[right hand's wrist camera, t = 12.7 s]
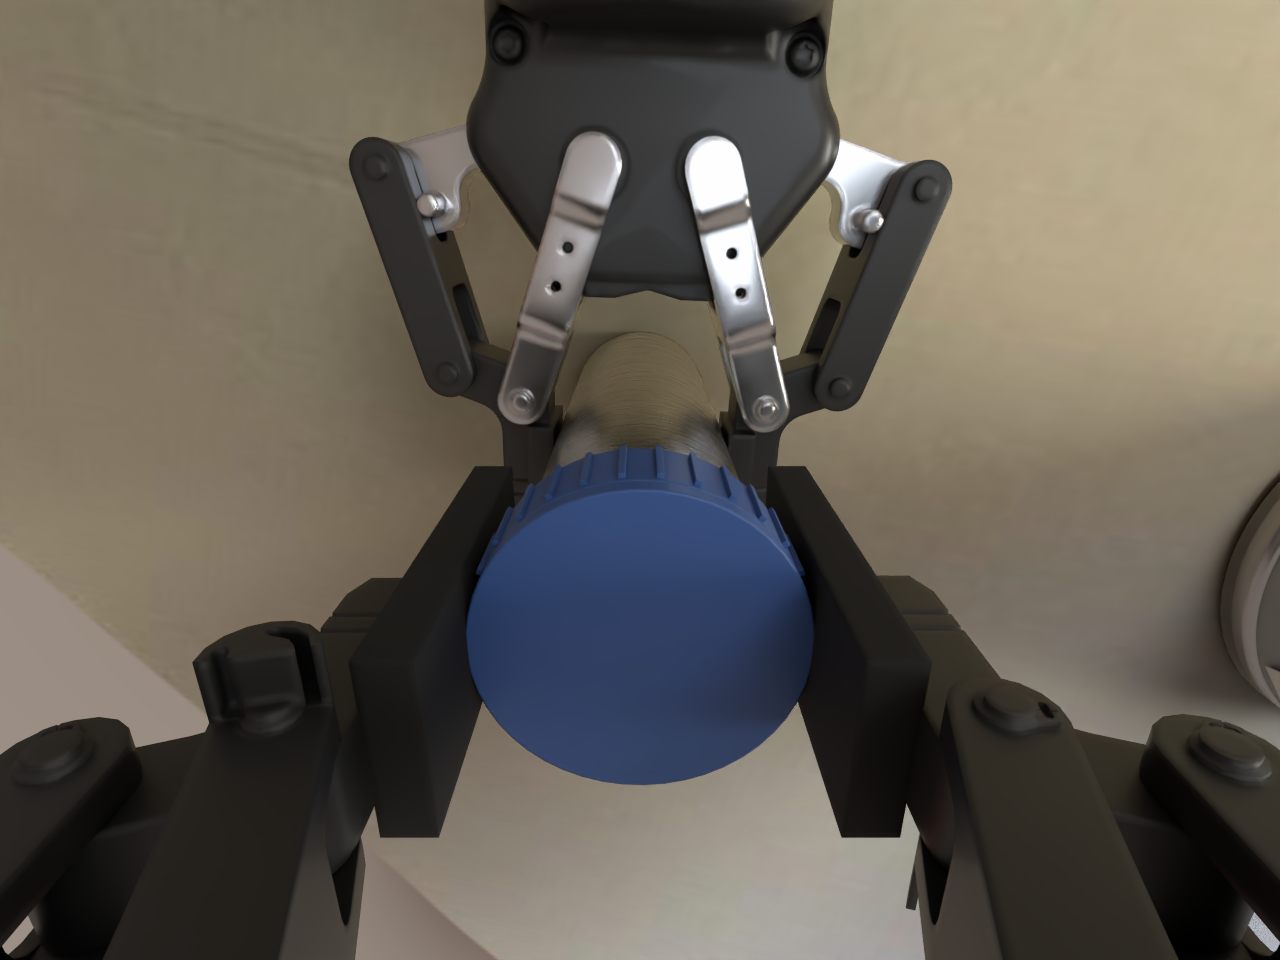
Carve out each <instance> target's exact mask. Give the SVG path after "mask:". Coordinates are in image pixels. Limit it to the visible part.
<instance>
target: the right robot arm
mask: <svg viewBox="0 0 1280 960" xmlns="http://www.w3.org/2000/svg"><path fill="white" fill-rule="evenodd" d="M509 506H510V507H512V508H514V507H515V499H514V485H513V471H512V466H475V467H474V469H473V470H472V472H471V473H470V475H469V477H468V478H467V480H466V481H465V483H464V484H463V486H462V487H461V489H460V490H459V492H458V493H457V495H456V497H455V498H454V500H453V501H452V503H451V504H450V506H449V507H448V509H447V510H446V512H445V513H444V515H443V517H442V518H441V520H440V521H439V523H438V524H437V526H436V527H435V529H434V530H433V532H432V533H431V535H430V537H429V538H428V540H427V541H426V543H425V544H424V546H423V547H422V549H421V550H420V552H419V553H418V555H417V557H416V558H415V560H414V561H413V563H412V564H411V566H410V567H409V569H408V570H407V572H406V573H405V575H404V577H403V578H371V579H370V580H368V581H367V582H365V583H363V584H362V585H360V586H359V587H357V588H356V589H354V590H353V591H351V592H350V593H348V594H347V595H346V596H345V597H344V599H343V600H342V601H341V603H340V604H339V605H338V607H337V608H336V609H335V611H334V612H333V616H332V617H329V618H328V620H327V621H326V622H325V624H324V625H323V626H322V627H321V632H319V631H318V630H317V629H315V628H314V627H313V626H312V625H310V624H305V623H301V622H296V621H275V622H267V623H263V624H258V625H254V626H249V627H246V628H243V629H241V630H238V631H236V632H233V633H231V634H228V635H226V636H224V637H222V638H220V639H219V640H217V641H216V642H214V643H213V644H211V645H209V646H208V647H206V648H205V649H204V650H203V651H202V652H201V653H200V654H199V655H198V657H197V658H196V659H195V660H194V661H193V662H192V663H193V667H194V670H195V674H196V677H197V681H198V684H199V688H200V691H201V695H202V699H203V702H204V706H205V709H206V713H207V716H208V720H209V725H208V727H207V729H206V731H205V732H204V733H201V734H197V735H193V736H189V737H184V738H180V739H175V740H170V741H166V742H161V743H156V744H151V745H147V746H142V747H137V748H135V745H134V742H133V739H132V736H131V733H130V730H129V728H128V727H127V726H126V725H124V724H123V723H122V722H121V721H119V720H117V719H109V718H102V717H96V718H89V719H81V720H74V721H70V722H66V723H62V724H60V725H58V726H57V725H55V726H52V727H49V728H47V729H44V730H42V731H40V732H39V733H37V734H35V735H33V736H31V737H29V738H26V739H24V740H22V741H20V742H18V743H16V744H15V745H13V746H12V747H11V748H9V749H8V750H6V751H5V752H4V753H2V754H1V755H0V960H355V953H356V945H357V936H358V927H359V918H360V909H361V900H362V892H363V883H364V874H365V865H366V864H365V857H364V851H363V845H362V840H361V835H362V832H363V830H364V828H365V826H366V823H367V821H368V819H369V817H370V815H371V812H372V810H373V808H374V806H375V811H376V816H377V822H378V827H379V833H380V838H439V835H440V832H441V829H442V826H443V823H444V820H445V817H446V814H447V810H448V807H449V804H450V801H451V798H452V795H453V792H454V789H455V786H456V783H457V779H458V776H459V773H460V770H461V767H462V764H463V761H464V758H465V755H466V751H467V748H468V745H469V742H470V739H471V736H472V733H473V730H474V727H475V724H476V720H477V717H478V714H479V711H480V708H481V705H482V702H483V700H482V698H481V696H480V694H479V693H478V691H477V688H476V685H475V683H474V680H473V677H472V675H471V672H470V664H469V656H468V647H467V637H466V621H467V613H468V609H469V605H470V601H471V598H472V594H473V592H474V589H475V587H476V585H477V583H478V580H479V578H480V575H477V574H476V571H477V568H478V566H479V564H480V562H481V559H482V557H483V555H484V553H485V551H486V549H487V546H488V544H489V542H490V540H491V538H492V535H493V533H496V532H497V530H498V528H499V525H500V523H501V521H502V519H503V517H504V514H505V512H506V510H507V509H508V507H509ZM765 506H766V508H767V509H770V508H771V507H772V508H773V509H774V511H775V512H776V515H777V517H778V519H779V521H780V524H781V526H782V528H783V530H784V532H785V534H788V537H789V539H790V541H791V543H792V545H793V547H794V550H795V552H796V554H797V556H798V558H799V561H800V563H801V565H802V567H803V569H804V572H805V575H804V576H802V577H801V578H802V580H803V583H804V585H805V587H806V590H807V593H808V596H809V600H810V603H811V606H812V611H813V617H814V624H815V631H814V642H813V651H812V660H811V669H810V673H809V676H808V679H807V682H806V685H805V687H804V689H803V691H802V693H801V695H800V698H799V700H798V704H799V707H800V710H801V713H802V716H803V719H804V722H805V725H806V728H807V732H808V735H809V738H810V741H811V744H812V747H813V750H814V753H815V756H816V760H817V763H818V766H819V769H820V772H821V775H822V778H823V781H824V784H825V787H826V791H827V794H828V797H829V800H830V803H831V806H832V809H833V812H834V815H835V819H836V822H837V825H838V828H839V831H840V834H841V837H842V838H900V835H901V829H902V824H903V819H904V813H905V808H906V803H907V806H908V808H909V810H910V812H911V815H912V817H913V819H914V821H915V823H916V826H917V828H918V830H919V832H920V835H919V840H918V845H917V850H916V855H915V860H914V865H913V871H912V876H911V881H910V886H909V891H908V897H907V904H906V908H907V909H911V910H915V909H916V904H917V899H919V908H920V916H921V925H922V934H923V943H924V952H925V960H1280V945H1279V947H1278V949H1277V950H1276V951H1275V952H1273V951H1271V950H1270V949H1269V948H1268V947H1267V946H1266V945H1265V944H1264V943H1263V942H1262V941H1260V939H1259V938H1258V937H1257V936H1256V935H1255V933H1254V932H1253V931H1252V930H1251V929H1250V927H1249V926H1248V924H1249V922H1250V920H1251V918H1252V916H1253V913H1254V912H1255V913H1256V914H1257V916H1258V917H1259V918H1260V919H1261V920H1262V921H1263V923H1264V924H1265V925H1266V926H1267V927H1268V929H1269V930H1270V931H1271V932H1272V933H1273V934H1274V936H1275V937H1276V938H1277V939H1278V940H1279V941H1280V750H1279V749H1277V748H1276V747H1274V746H1273V745H1271V744H1270V743H1269V742H1267V741H1266V740H1264V739H1262V738H1260V737H1258V736H1256V735H1253V734H1251V733H1249V732H1247V731H1245V730H1243V729H1242V728H1240V727H1238V726H1235V725H1233V724H1230V723H1227V722H1225V723H1224V722H1221V721H1220V720H1216V719H1212V718H1208V717H1201V716H1193V715H1185V714H1180V715H1172V716H1165V717H1162V718H1161V719H1160V720H1158V721H1157V722H1156V723H1155V724H1153V726H1152V729H1151V731H1150V734H1149V737H1148V740H1147V743H1146V745H1144V744H1139V743H1134V742H1129V741H1125V740H1120V739H1115V738H1110V737H1106V736H1101V735H1096V734H1091V733H1087V732H1084V731H1080V730H1077V729H1074V728H1073V726H1072V724H1071V722H1070V720H1069V719H1068V718H1067V716H1066V715H1065V714H1064V712H1063V711H1062V710H1061V708H1060V707H1059V706H1058V705H1056V704H1055V703H1053V702H1052V701H1051V700H1049V699H1048V698H1047V697H1045V696H1044V695H1043V694H1041V693H1039V692H1037V691H1035V690H1033V689H1030V688H1028V687H1026V686H1024V685H1022V684H1020V683H1016V682H1012V681H1008V680H1004V679H1001V678H1000V677H999V676H998V674H997V673H996V672H995V670H994V669H993V668H992V666H991V665H990V664H989V663H988V661H987V660H986V659H985V657H984V656H983V655H982V654H981V652H980V651H979V650H978V648H977V647H976V646H975V645H974V643H973V642H972V641H971V639H970V638H969V637H968V635H967V634H966V633H965V632H964V630H961V629H960V625H959V624H958V623H957V621H956V620H955V619H954V617H953V616H952V615H951V614H948V610H947V608H946V607H945V606H944V604H943V603H942V602H941V601H940V599H939V598H938V597H937V595H936V594H935V593H934V592H933V591H932V590H930V589H929V588H927V587H925V586H924V585H922V584H921V583H919V582H918V581H916V580H915V579H913V578H911V577H910V576H876V574H875V573H874V571H873V570H872V568H871V567H870V565H869V564H868V562H867V560H866V559H865V557H864V556H863V554H862V553H861V551H860V550H859V548H858V547H857V545H856V544H855V542H854V540H853V539H852V537H851V536H850V534H849V533H848V531H847V530H846V528H845V527H844V525H843V524H842V522H841V520H840V519H839V517H838V516H837V514H836V513H835V511H834V510H833V508H832V507H831V505H830V504H829V502H828V500H827V499H826V497H825V496H824V494H823V493H822V491H821V490H820V488H819V487H818V485H817V484H816V482H815V481H814V479H813V477H812V476H811V474H810V473H809V471H808V470H807V468H806V467H805V466H768V476H767V490H766V504H765ZM1220 619H1221V627H1222V634H1223V638H1224V642H1225V645H1226V648H1227V650H1228V653H1229V655H1230V658H1231V660H1232V661H1233V663H1234V665H1235V666H1236V668H1237V670H1238V671H1239V672H1240V674H1241V675H1242V676H1243V677H1244V678H1245V680H1246V681H1247V682H1248V683H1249V684H1250V685H1251V686H1253V687H1254V688H1255V689H1256V690H1257V691H1258V692H1260V693H1261V694H1262V695H1263V696H1265V697H1266V698H1267V699H1269V700H1270V701H1271V702H1272V703H1274V704H1275V705H1276V706H1278V707H1279V708H1280V481H1279V482H1278V483H1277V484H1276V486H1275V487H1274V488H1273V489H1272V490H1271V492H1270V493H1269V494H1268V495H1267V497H1266V498H1265V499H1264V500H1263V502H1262V503H1261V504H1260V506H1259V507H1258V509H1257V510H1256V512H1255V513H1254V515H1253V516H1252V517H1251V519H1250V521H1249V522H1248V524H1247V526H1246V528H1245V529H1244V531H1243V533H1242V535H1241V536H1240V538H1239V541H1238V543H1237V545H1236V547H1235V549H1234V551H1233V554H1232V556H1231V559H1230V562H1229V565H1228V568H1227V571H1226V575H1225V579H1224V583H1223V588H1222V595H1221V609H1220ZM27 916H29V918H30V921H31V923H32V925H33V927H34V928H33V930H32V931H31V932H30V933H29V934H28V936H27V937H26V938H25V939H24V941H23V942H22V943H21V944H20V945H19V946H18V947H16V948H15V949H14V950H13V951H12V952H11V953H10V954H9V955H8V954H7V953H5V951H4V949H3V947H2V945H3V944H4V943H5V942H6V940H7V939H8V938H9V937H10V936H11V935H12V933H13V932H14V931H15V930H16V929H17V927H18V926H19V925H20V924H21V923H22V921H23V920H24V919H25V918H26V917H27Z"/></svg>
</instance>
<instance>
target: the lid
mask: <svg viewBox="0 0 1280 960" xmlns="http://www.w3.org/2000/svg"><path fill="white" fill-rule="evenodd" d="M476 574H477V575H480V578H479V580H478V583H477V585H476V587H475V589H474V592H473V594H472V598H471V601H470V605H469V609H468V613H467V621H466V637H467V647H468V656H469V664H470V672H471V675H472V677H473V680H474V683H475V685H476V688H477V691H478V693H479V694H480V696H481V698H482V700H483V702H484V704H485V705H486V707H487V709H488V710H489V711H490V713H491V714H492V715H493V717H494V718H495V720H496V721H497V722H498V724H499V725H500V726H501V727H502V728H503V729H504V730H505V731H506V732H507V733H508V734H509V735H510V736H511V737H512V738H513V739H514V740H516V741H517V742H518V743H519V744H521V745H522V746H523V747H524V748H526V749H527V750H528V751H530V752H531V753H533V754H534V755H536V756H538V757H539V758H541V759H542V760H544V761H546V762H548V763H550V764H552V765H554V766H556V767H558V768H560V769H562V770H565V771H568V772H571V773H573V774H576V775H579V776H582V777H586V778H590V779H594V780H598V781H602V782H610V783H617V784H629V785H651V784H665V783H671V782H677V781H683V780H687V779H691V778H694V777H698V776H702V775H705V774H708V773H710V772H713V771H715V770H718V769H720V768H723V767H725V766H727V765H729V764H731V763H732V762H734V761H736V760H738V759H740V758H742V757H743V756H745V755H746V754H748V753H749V752H751V751H752V750H754V749H755V748H756V747H758V746H759V745H760V744H761V743H763V742H764V741H765V740H766V739H767V738H768V737H769V736H771V735H772V734H773V733H774V732H775V731H776V729H777V728H778V727H779V726H780V725H781V724H782V723H783V722H784V720H785V719H786V718H787V717H788V715H789V714H790V712H791V711H792V709H793V708H794V706H795V705H796V703H797V702H798V700H799V698H800V695H801V693H802V691H803V689H804V687H805V685H806V682H807V679H808V676H809V673H810V669H811V660H812V651H813V642H814V631H815V624H814V617H813V611H812V606H811V603H810V600H809V596H808V593H807V590H806V587H805V585H804V583H803V580H802V578H801V577H802V576H804V575H805V572H804V569H803V567H802V565H801V563H800V561H799V558H798V556H797V554H796V552H795V550H794V547H793V545H792V543H791V541H790V539H789V537H788V534H785V532H784V530H783V528H782V526H781V524H780V521H779V519H778V517H777V515H776V512H775V511H774V509H773V508H772V507H771V508H770V509H767V508H766V506H765V505H764V504H763V503H762V502H761V500H760V499H759V498H758V496H757V493H756V491H755V488H754V487H753V486H752V485H751V484H749V485H748V486H747V487H746V486H745V485H744V484H743V483H741V482H740V481H739V480H738V479H737V478H735V477H734V476H732V475H730V474H729V471H728V468H727V467H725V466H723V465H722V466H721V468H719V467H717V466H715V465H712V464H710V463H708V462H706V461H703V460H701V459H699V458H697V455H696V453H693V452H690V454H689V455H685V454H682V453H679V452H673V451H667V450H662V446H657V445H656V446H655V449H644V448H633V449H627V446H626V445H623V446H620V450H613V451H608V452H603V453H599V454H594V455H593V454H592V452H588V453H586V454H585V458H583V459H580V460H577V461H574V462H572V463H570V464H568V465H566V466H564V467H561V466H560V465H557V466H555V467H554V469H553V472H552V474H550V475H549V476H547V477H546V478H544V479H543V480H541V481H540V482H539V483H538V484H536V485H535V486H534V485H533V484H532V483H531V484H530V485H529V486H527V489H526V491H525V493H524V496H523V498H522V499H521V500H520V501H519V502H518V504H517V505H516V506H515V507H514V508H512V507H510V506H509V507H508V509H507V510H506V512H505V514H504V517H503V519H502V521H501V523H500V525H499V528H498V530H497V532H496V533H493V535H492V538H491V540H490V542H489V544H488V546H487V549H486V551H485V553H484V555H483V557H482V559H481V562H480V564H479V566H478V568H477V571H476Z"/></svg>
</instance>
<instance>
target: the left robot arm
mask: <svg viewBox="0 0 1280 960" xmlns="http://www.w3.org/2000/svg"><path fill="white" fill-rule="evenodd" d="M484 6H485V33H486V59H485V66H484V71H483V76H482V79H481V83H480V85H479V88H478V90H477V93H476V95H475V97H474V99H473V101H472V103H471V105H470V108H469V111H468V115H467V121H466V125H463V126H459V127H455V128H452V129H448V130H445V131H441V132H438V133H434V134H430V135H427V136H423V137H420V138H416V139H412V140H409V141H405V142H402V143H395V142H392V141H388V140H385V139H381V138H378V137H368V138H364V139H362V140H360V141H359V142H358V143H357V144H356V145H355V146H354V147H353V149H352V151H351V154H350V158H349V167H350V172H351V175H352V178H353V181H354V183H355V186H356V189H357V192H358V195H359V197H360V200H361V203H362V206H363V208H364V211H365V214H366V217H367V219H368V222H369V225H370V228H371V231H372V233H373V236H374V239H375V242H376V244H377V247H378V250H379V253H380V255H381V258H382V261H383V264H384V267H385V269H386V272H387V275H388V278H389V280H390V283H391V286H392V289H393V292H394V294H395V297H396V300H397V303H398V305H399V308H400V311H401V314H402V316H403V319H404V322H405V325H406V328H407V330H408V333H409V336H410V339H411V341H412V344H413V347H414V350H415V352H416V355H417V358H418V361H419V364H420V366H421V369H422V372H423V375H424V377H425V380H426V382H427V384H428V385H429V387H430V388H431V389H432V390H433V391H435V392H436V393H438V394H440V395H442V396H446V397H455V396H459V395H460V396H463V397H465V398H468V399H471V400H473V401H476V402H478V403H481V404H483V405H485V406H487V407H489V408H490V409H491V410H492V411H493V412H494V413H495V414H496V415H497V417H498V418H499V420H500V422H501V425H502V431H503V454H504V466H512V471H513V485H514V499H515V506H516V505H517V504H518V502H519V501H520V500H521V499H522V498H523V496H524V493H525V491H526V489H527V486H529V485H530V484H531V483H532V484H533V485H534V486H535V485H536V484H538V483H539V482H540V481H541V480H542V478H543V475H544V473H545V470H546V467H547V465H548V462H549V459H550V456H551V454H552V451H553V448H554V446H555V443H556V440H557V437H558V435H559V432H560V429H561V427H562V424H563V406H559V405H555V387H556V384H557V381H558V378H559V375H560V372H561V369H562V366H563V363H564V360H565V357H566V354H567V351H568V348H569V345H570V341H571V338H572V335H573V332H574V330H575V327H576V324H577V322H578V319H579V316H580V313H581V310H582V307H583V304H584V301H585V298H586V297H608V298H616V297H620V296H624V295H628V294H632V293H637V292H641V291H645V290H650V291H653V292H657V293H660V294H663V295H666V296H669V297H672V298H676V299H679V300H693V301H707V305H708V309H709V313H710V317H711V320H712V324H713V327H714V330H715V333H716V337H717V340H718V344H719V348H720V352H721V357H722V361H723V365H724V369H725V373H726V377H727V381H728V385H729V389H730V398H729V410H728V412H720V419H719V427H720V430H721V433H722V435H723V438H724V441H725V443H726V446H727V449H728V452H729V454H730V457H731V460H732V462H733V465H734V468H735V471H736V473H737V476H738V479H739V481H740V482H741V483H743V484H744V485H745V486H746V487H747V486H748V485H749V484H751V485H752V486H753V487H754V488H755V491H756V493H757V496H758V498H759V499H760V500H761V502H762V503H763V504H764V505H765V504H766V490H767V476H768V466H776V465H777V456H778V447H779V440H780V436H781V433H782V431H783V430H784V428H785V427H786V425H787V424H788V423H789V422H791V421H792V420H793V419H795V418H797V417H799V416H801V415H804V414H807V413H811V412H814V411H817V410H820V409H824V408H826V409H828V410H831V411H843V410H846V409H848V408H850V407H852V406H853V405H855V404H856V403H857V402H858V400H859V399H860V397H861V395H862V393H863V391H864V389H865V387H866V384H867V382H868V380H869V378H870V375H871V373H872V371H873V369H874V366H875V364H876V362H877V360H878V357H879V355H880V353H881V351H882V348H883V346H884V344H885V342H886V339H887V337H888V335H889V333H890V330H891V328H892V326H893V324H894V321H895V319H896V317H897V315H898V312H899V310H900V308H901V306H902V303H903V301H904V299H905V297H906V294H907V292H908V290H909V288H910V285H911V283H912V281H913V279H914V276H915V274H916V272H917V270H918V267H919V265H920V263H921V261H922V258H923V256H924V254H925V252H926V249H927V247H928V245H929V243H930V240H931V238H932V236H933V234H934V231H935V229H936V227H937V225H938V222H939V220H940V218H941V216H942V213H943V211H944V209H945V207H946V204H947V202H948V200H949V197H950V195H951V191H952V179H951V175H950V173H949V171H948V169H947V168H946V167H945V166H944V165H943V164H941V163H940V162H938V161H935V160H923V161H911V162H902V161H899V160H896V159H894V158H891V157H888V156H885V155H883V154H880V153H877V152H874V151H872V150H869V149H866V148H863V147H861V146H858V145H855V144H852V143H850V142H847V141H844V140H842V139H840V129H839V124H838V120H837V117H836V114H835V112H834V110H833V107H832V104H831V101H830V98H829V94H828V89H827V82H826V58H827V51H828V42H829V34H830V25H831V16H832V7H833V0H484ZM481 171H482V173H483V174H484V176H485V177H486V178H487V180H488V181H489V183H490V184H491V186H492V187H493V189H494V190H495V191H496V193H497V194H498V196H499V197H500V199H501V200H502V202H503V203H504V204H505V206H506V207H507V209H508V210H509V212H510V213H511V215H512V216H513V217H514V219H515V220H516V222H517V223H518V225H519V226H520V228H521V229H522V230H523V232H524V233H525V235H526V236H527V238H528V239H529V241H530V242H531V243H532V245H533V246H534V248H535V249H536V251H537V252H538V253H537V257H536V260H535V264H534V267H533V270H532V274H531V277H530V280H529V284H528V287H527V290H526V294H525V297H524V301H523V304H522V307H521V311H520V314H519V318H518V323H517V332H516V336H515V339H514V343H513V346H512V349H511V352H509V351H506V350H504V349H501V348H499V347H496V346H494V345H491V344H489V341H488V338H487V335H486V332H485V329H484V326H483V322H482V319H481V316H480V313H479V310H478V307H477V304H476V301H475V298H474V294H473V291H472V288H471V285H470V282H469V279H468V276H467V273H466V269H465V266H464V263H463V260H462V257H461V254H460V251H459V248H458V245H457V241H456V238H455V235H454V232H453V231H455V230H457V229H459V228H461V227H462V226H463V225H464V224H465V222H466V221H467V219H468V216H469V211H470V205H469V199H468V190H469V186H470V183H471V181H472V179H473V178H474V177H475V176H476V175H477V174H478V173H479V172H481ZM820 185H823V186H824V187H825V188H826V189H827V191H828V192H829V195H830V197H831V201H832V210H831V215H830V219H829V228H830V232H831V234H832V236H833V238H834V239H835V240H836V241H837V242H838V243H840V244H842V245H843V247H842V249H841V252H840V254H839V257H838V259H837V262H836V264H835V267H834V269H833V272H832V274H831V277H830V279H829V282H828V284H827V287H826V289H825V292H824V294H823V297H822V299H821V301H820V304H819V306H818V309H817V311H816V314H815V316H814V319H813V321H812V324H811V326H810V329H809V331H808V334H807V336H806V339H805V341H804V344H803V346H802V349H801V351H800V354H799V355H796V356H793V357H790V358H787V359H784V360H781V361H780V359H779V355H778V350H777V346H776V340H775V335H776V329H775V322H774V318H773V313H772V308H771V304H770V299H769V294H768V290H767V285H766V281H765V276H764V271H763V267H762V262H761V259H762V257H763V256H764V255H765V254H766V252H767V251H768V250H769V249H770V247H771V246H772V245H773V244H774V242H775V241H776V240H777V239H778V237H779V236H780V235H781V234H782V232H783V231H784V230H785V229H786V227H787V226H788V225H789V224H790V222H791V221H792V220H793V219H794V218H795V216H796V215H797V214H798V213H799V211H800V210H801V209H802V208H803V206H804V205H805V204H806V203H807V201H808V200H809V199H810V198H811V196H812V195H813V194H814V193H815V191H816V190H817V189H818V188H819V186H820Z"/></svg>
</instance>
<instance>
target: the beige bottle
mask: <svg viewBox="0 0 1280 960" xmlns="http://www.w3.org/2000/svg"><path fill="white" fill-rule="evenodd" d="M623 445H626V446H627V449H633V448H644V449H655V446H656V445H657V446H662V450H667V451H673V452H679V453H682V454H685V455H689V454H690V452H693V453H696V455H697V458H699V459H701V460H703V461H706V462H708V463H710V464H712V465H715V466H717V467H719V468H721V466H722V465H723V466H725V467H727V468H728V471H729V474H730V475H732V476H734V477H735V478H737V479H738V476H737V473H736V471H735V468H734V465H733V462H732V460H731V457H730V454H729V452H728V449H727V446H726V443H725V441H724V438H723V435H722V433H721V430H720V427H719V424H718V422H717V419H716V416H715V414H714V411H713V408H712V405H711V403H710V400H709V397H708V394H707V392H706V389H705V386H704V384H703V381H702V378H701V375H700V373H699V370H698V368H697V366H696V364H695V363H694V361H693V359H692V358H691V357H690V355H689V354H688V353H687V352H686V351H685V350H684V349H683V348H682V347H681V346H680V345H678V344H677V343H675V342H674V341H672V340H670V339H668V338H666V337H664V336H661V335H658V334H654V333H648V332H633V333H627V334H623V335H620V336H617V337H615V338H613V339H610V340H609V341H607V342H606V343H604V344H602V345H601V346H600V347H599V348H598V349H597V350H596V351H595V352H594V353H593V354H592V355H591V356H590V358H589V359H588V361H587V362H586V364H585V366H584V368H583V370H582V372H581V375H580V378H579V381H578V383H577V386H576V389H575V391H574V394H573V397H572V400H571V402H570V405H569V408H568V410H567V413H566V416H565V418H564V421H563V424H562V427H561V429H560V432H559V435H558V437H557V440H556V443H555V446H554V448H553V451H552V454H551V456H550V459H549V462H548V465H547V467H546V470H545V473H544V475H543V478H542V480H543V479H544V478H546V477H547V476H549V475H550V474H552V472H553V469H554V467H555V466H557V465H560V466H561V467H564V466H566V465H568V464H570V463H572V462H574V461H577V460H580V459H583V458H585V454H586V453H588V452H592V454H593V455H594V454H599V453H603V452H608V451H613V450H620V446H623ZM738 480H739V479H738Z"/></svg>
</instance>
